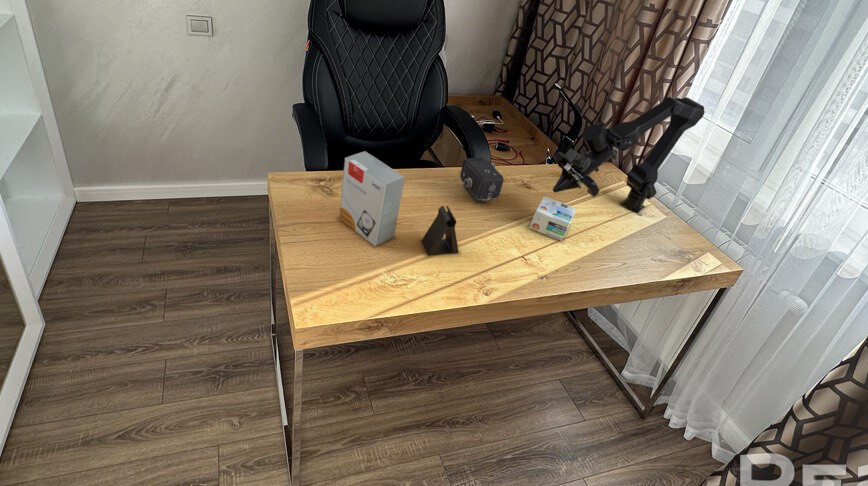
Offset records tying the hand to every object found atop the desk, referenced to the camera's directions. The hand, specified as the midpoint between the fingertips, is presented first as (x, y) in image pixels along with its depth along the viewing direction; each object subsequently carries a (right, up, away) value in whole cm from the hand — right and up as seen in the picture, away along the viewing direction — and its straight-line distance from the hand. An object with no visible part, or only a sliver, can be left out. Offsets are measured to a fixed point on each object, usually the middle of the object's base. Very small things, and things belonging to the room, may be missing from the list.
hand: (553, 191), depth 158 cm
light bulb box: (+2, -6, +3) cm, 7 cm away
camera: (-23, -1, +9) cm, 25 cm away
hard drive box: (-56, -11, -16) cm, 60 cm away
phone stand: (-36, -16, -17) cm, 43 cm away
